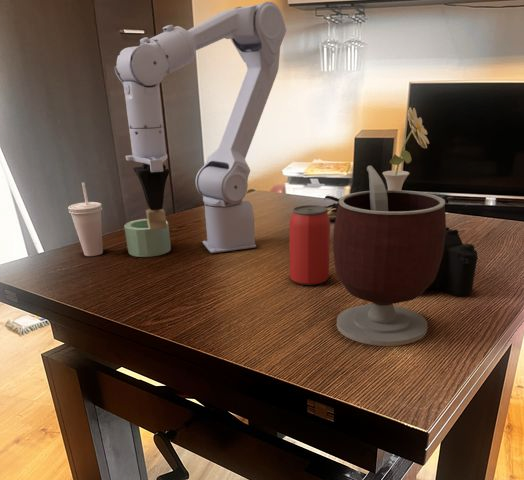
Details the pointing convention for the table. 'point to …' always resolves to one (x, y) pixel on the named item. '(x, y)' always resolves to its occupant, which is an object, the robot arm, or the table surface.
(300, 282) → the beer can
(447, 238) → the film camera
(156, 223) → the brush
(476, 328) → the table surface
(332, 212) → the toy figure
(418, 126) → the flower in vase
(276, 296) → the table surface
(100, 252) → the smoothie
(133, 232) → the pale green hollow ring
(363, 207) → the mate gourd
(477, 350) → the table surface
